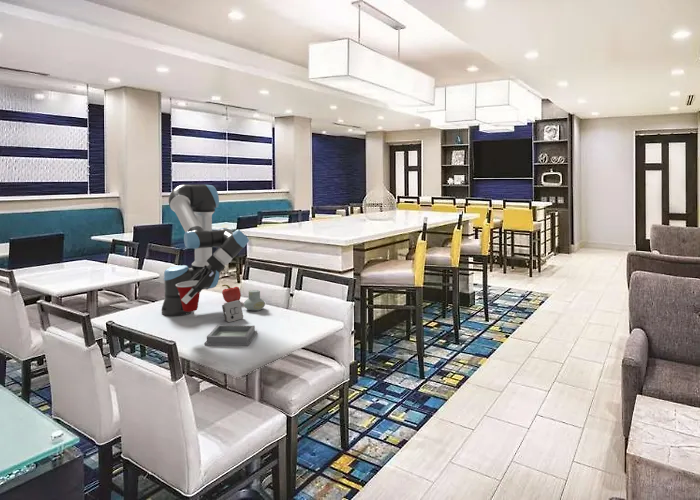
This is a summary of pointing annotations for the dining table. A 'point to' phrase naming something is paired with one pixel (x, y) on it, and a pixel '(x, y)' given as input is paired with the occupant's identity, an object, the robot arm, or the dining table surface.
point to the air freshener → (254, 301)
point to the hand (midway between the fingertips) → (182, 299)
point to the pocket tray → (231, 335)
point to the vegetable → (231, 294)
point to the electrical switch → (232, 311)
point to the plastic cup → (183, 290)
